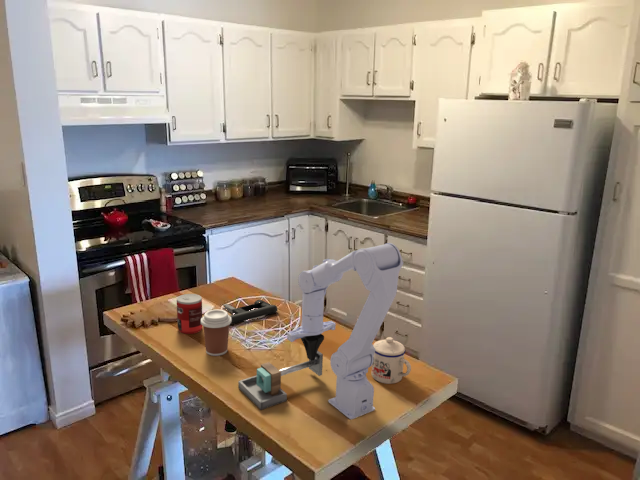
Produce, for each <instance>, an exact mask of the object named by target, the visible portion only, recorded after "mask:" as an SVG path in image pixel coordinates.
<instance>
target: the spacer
mask: <svg viewBox="0 0 640 480" xmlns="http://www.w3.org/2000/svg"><path fill="white" fill-rule="evenodd" d="M256 375H257V385H258V386H259V387H260V388H261V389H262V390H263V391H264V392H265V393H266V392H269V391H271V375H270V374H269V373H268V372H267V371H266V370H265V369H263V368H262V367H261V366H260V367H258V368H256ZM261 377H262V378H264V382H263V381H262V379H261Z"/></svg>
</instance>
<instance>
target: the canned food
mask: <svg viewBox="0 0 640 480" xmlns="http://www.w3.org/2000/svg"><path fill="white" fill-rule="evenodd" d="M202 301H203V298H202V296H201V295H199V294H196V293H185V294H181V295H179V296H177V297H176V317H177V320H176V321H177V329H178V332H179V333H181V334H184V335H194V334H197V333H200V332H201V331H202V329H203V325H202V324H201V318H202V317H203V302H202Z"/></svg>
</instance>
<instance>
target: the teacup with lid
mask: <svg viewBox="0 0 640 480" xmlns="http://www.w3.org/2000/svg"><path fill="white" fill-rule="evenodd" d="M373 346H374V348H375V350H376V351H375V353H374V359H373V364H372V366H371V376H372V378H373V379H374V380H375V381H377V382H378V383H381V384H385V385H386V384H388V385H390V384H396V383H399V382H400V381H402V379H403V377H407V376H408V375H410V374H411V371H412V365H411V363H410V361H409V360H407V359H406V358H405V353H406V347H405V345H404V344H402V343H401V342H399V341H397V340H394V338H393V337H391V336H388V337H386V338H385V339H379V340H377V341H375V342H373ZM404 364H405V366H406V371H405V372H404Z"/></svg>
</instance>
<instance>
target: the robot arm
mask: <svg viewBox="0 0 640 480" xmlns="http://www.w3.org/2000/svg"><path fill="white" fill-rule="evenodd" d="M403 265H404V259H403V258H402V254H401V252H400V250H399V247H398V246H397V245H395V244H394V243H392V242H386V243H384V244H380V245H376V246H370V247H365V248H359V249H357V250H353V251H351V252H349V253H348V254H347V255H345V256H343V257H342V258H340V259H338V260H336V259H330V258H325V259H323V260H322V263H320V264H316V265H313V266H312V269H309V270H302V271H301V272H300V273H299V275H298V277H297V280H298V287H299V289H300V291H301V292H302V297H301V298H302V299H301V302H302V304H301V305H302V306H301V323H300V326H298V327H297V328H295V329H294V330H292V331H288V332H287V333H286V334H287V337H286V339H287V341H289V342H291V343H293V342H295V340H299V339H300V340H301V342H302V344H303V347H304V349H305V353H306V358H307V359H308V361H309V360H311V361H312V360H315V357H316V354H317V351H319V348H320V347H321V344H323V342H324V340H325V335H324V334H323V333H324V332H326V331H330V330H331V331H335V330H336V325H337V323H336V322H334V321H332V320H330V321H324V309H325V308H324V305H325V303H324V302H325V296H326V295H327V289H328V287H330V286H331V285H332V284H333V285H334V284H335V283H337V282H340V281H341V280H342V279H343V276H344V274H345V273H347V272H349V271H352V270H353V271H355V272H356V273H357V274H358V276H359V278H360V280H361V283H362V284H363V286H364V288H365V289H366V290H367V291H369V293H368V296H367V298H366V301H365V303H364V305H363V307H362V309H361V311H360V313H359V316H358V317H357V319H356V320H357V321H356V322H355V325H354V326H353V329H352V330H351V333H350V335H349V337H348V339H347V340H346V341H345V342H343V343H342V344H341V345H340V346H339V347H338V348H337V350H336V351H335V352H333V353H332V354H331V356H330V359H329V361H330V367H331V370H332V372H333V373H334V375H335V376H336V382H335V383H336V384H335V387H336V388H335V397H332V398H329V399H328V400H327V402H328V403H329V404H330V405H332V407H334V408H336V410H338V411H339V412H340V413H342V414H343V415H344V416H345V417H346V418H347V419H349V420H354V419H356V418H359V417H361V416H364V415H366V414H369V413H372V412H374V411H375V410H376V408H375V406H374V394H375V390H374V389H375V388H374V386H373V384H372V383H371V382H370V381H369V379H368V377H367V375H366V374H368V372H369V368H372V364H373V359H374V353H375V351H376V350H375V348H374V346H373V345H374V340H375V338H376V337H377V335H378V332H379V331H380V328H381V326H382V325H383V322H384V320H385V318H386V316H387V314H388V312H389V310H390V308H391V306H392V304H393V302H394V300H395V298H396V296H397V293H398V292H397V291H398V285H399V273H400V272H401V269H402V268H403Z"/></svg>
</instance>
